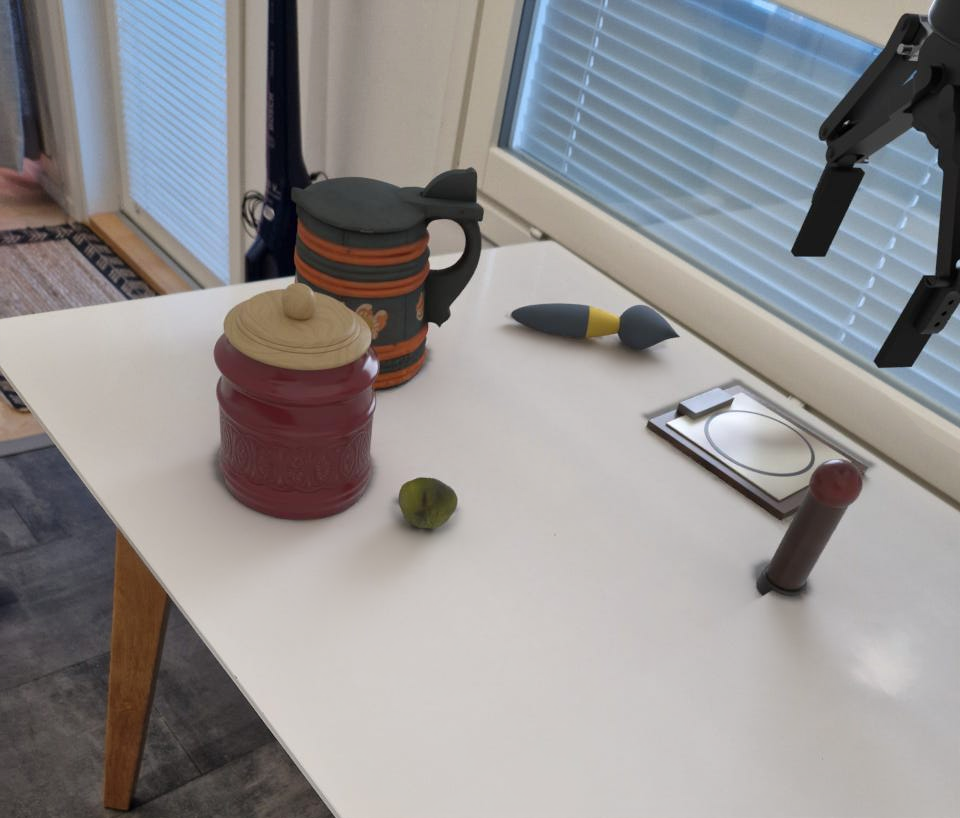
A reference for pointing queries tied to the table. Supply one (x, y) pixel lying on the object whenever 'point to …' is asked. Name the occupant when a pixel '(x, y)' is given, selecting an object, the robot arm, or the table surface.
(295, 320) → the kitchen canister
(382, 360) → the beer stein
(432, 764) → the table surface
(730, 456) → the clipboard
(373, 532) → the table surface
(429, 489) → the lime
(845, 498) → the dot stamp
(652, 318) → the paintbrush
